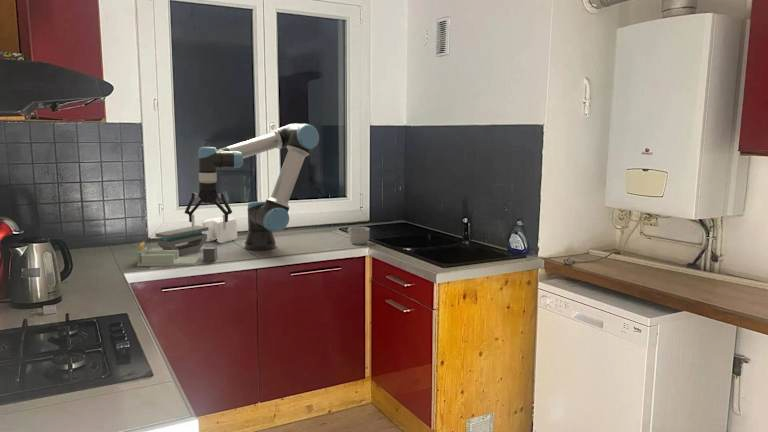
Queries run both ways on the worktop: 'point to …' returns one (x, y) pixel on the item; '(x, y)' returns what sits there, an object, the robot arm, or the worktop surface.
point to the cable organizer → (220, 230)
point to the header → (163, 258)
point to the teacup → (358, 235)
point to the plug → (209, 253)
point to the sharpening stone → (183, 239)
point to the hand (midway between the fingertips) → (208, 229)
